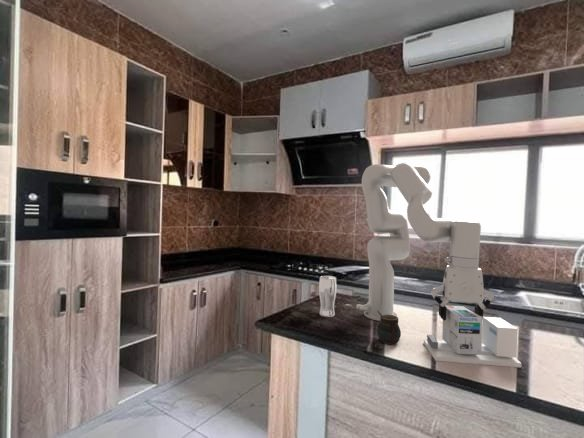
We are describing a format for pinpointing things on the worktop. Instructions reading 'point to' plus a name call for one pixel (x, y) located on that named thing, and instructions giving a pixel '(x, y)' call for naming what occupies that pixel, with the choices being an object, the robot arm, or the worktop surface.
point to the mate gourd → (388, 329)
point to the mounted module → (499, 336)
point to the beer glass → (327, 295)
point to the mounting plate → (466, 355)
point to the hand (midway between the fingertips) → (460, 319)
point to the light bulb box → (463, 330)
